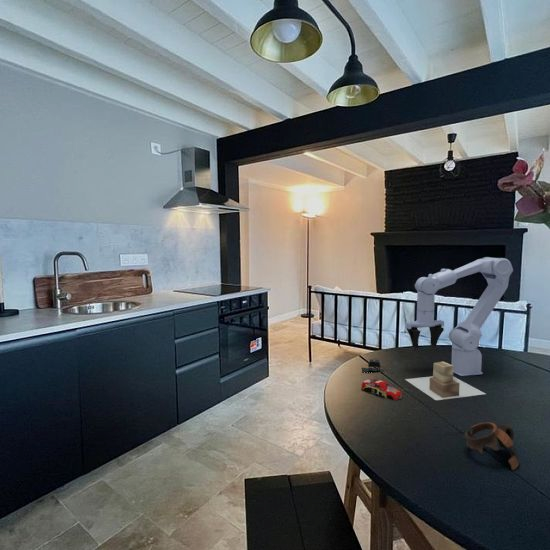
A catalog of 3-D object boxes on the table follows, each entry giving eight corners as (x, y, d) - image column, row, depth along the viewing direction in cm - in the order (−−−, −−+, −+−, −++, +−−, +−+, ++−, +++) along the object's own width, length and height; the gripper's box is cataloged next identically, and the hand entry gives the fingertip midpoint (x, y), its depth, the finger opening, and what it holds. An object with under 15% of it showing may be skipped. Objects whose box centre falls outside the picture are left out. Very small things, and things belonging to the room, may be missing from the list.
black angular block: (390, 370, 128) (391, 358, 127) (392, 377, 121) (392, 365, 120) (357, 367, 131) (357, 356, 130) (357, 374, 124) (357, 362, 123)
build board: (449, 375, 120) (449, 374, 120) (486, 395, 105) (486, 393, 105) (404, 380, 117) (404, 379, 117) (435, 401, 101) (435, 399, 101)
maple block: (442, 376, 109) (443, 361, 108) (452, 381, 105) (453, 365, 105) (433, 378, 108) (433, 363, 107) (442, 382, 104) (443, 367, 103)
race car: (405, 398, 104) (405, 386, 104) (396, 404, 100) (397, 391, 100) (368, 385, 114) (368, 374, 113) (359, 390, 110) (359, 378, 110)
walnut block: (445, 387, 110) (445, 375, 109) (459, 395, 104) (459, 383, 103) (429, 389, 108) (429, 377, 108) (442, 397, 103) (442, 385, 102)
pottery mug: (512, 480, 68) (489, 442, 70) (471, 474, 76) (452, 439, 78) (536, 447, 74) (515, 412, 76) (496, 444, 82) (477, 412, 84)
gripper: (435, 307, 127) (434, 341, 128) (401, 309, 124) (400, 344, 125) (448, 310, 120) (447, 347, 121) (412, 312, 117) (411, 350, 118)
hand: (424, 346), depth 123 cm, fingers open, 7 cm apart
